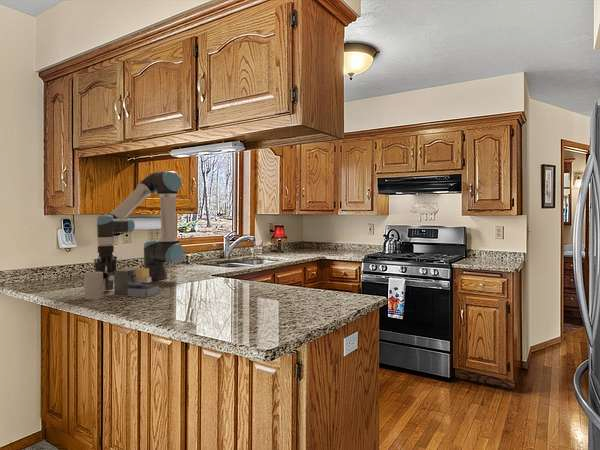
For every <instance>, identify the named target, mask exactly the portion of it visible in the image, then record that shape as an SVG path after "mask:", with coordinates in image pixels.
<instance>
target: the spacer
mask: <svg viewBox="0 0 600 450" xmlns="http://www.w3.org/2000/svg"><path fill="white" fill-rule="evenodd" d="M148 276H149V268H144V267H141V268H140V267H139V269H136V277H138V278H144V277H148Z"/></svg>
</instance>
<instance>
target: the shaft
mask: <svg viewBox="0 0 600 450" xmlns="http://www.w3.org/2000/svg"><path fill="white" fill-rule="evenodd" d="M113 273H114V272H107V271H105V275H104V279H105V283H106V291H105V292H107V291H113V290H114V275H113ZM132 282H141V283H146V284H147V283H152V280H151V277H144V278H138V277H136V276H132Z"/></svg>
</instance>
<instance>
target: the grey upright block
mask: <svg viewBox="0 0 600 450" xmlns="http://www.w3.org/2000/svg"><path fill="white" fill-rule="evenodd" d="M83 278H84V279H83V283H84V284H83V289H84V299H85V300H99V299H102V298H104V292H103V272H96V271H87V272H84V273H83Z"/></svg>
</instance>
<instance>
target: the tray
mask: <svg viewBox="0 0 600 450" xmlns="http://www.w3.org/2000/svg"><path fill="white" fill-rule="evenodd" d="M160 293H161V292H160V286H159V285H147V284H146V285H145V284H141V289H132V288H128V296H127V297H129V296H130V297H139V298H141V297H142V298H147V297H152V296H155V295H158V294H160Z"/></svg>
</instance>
